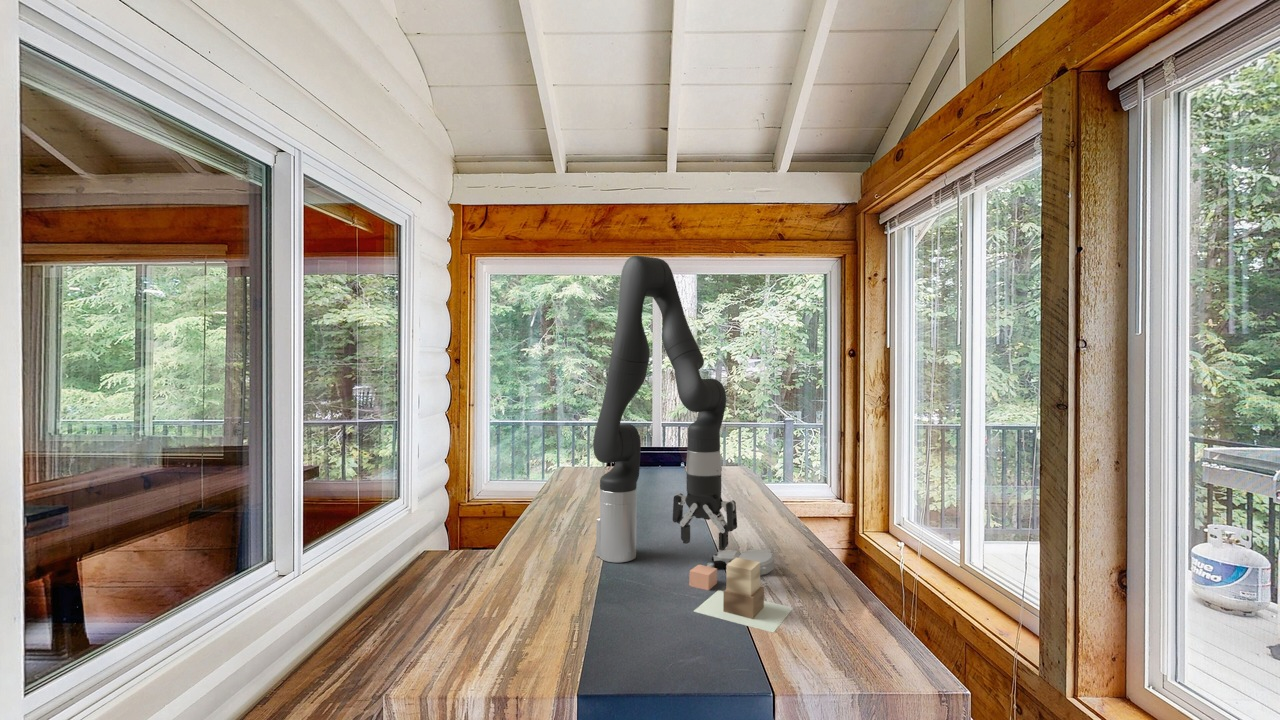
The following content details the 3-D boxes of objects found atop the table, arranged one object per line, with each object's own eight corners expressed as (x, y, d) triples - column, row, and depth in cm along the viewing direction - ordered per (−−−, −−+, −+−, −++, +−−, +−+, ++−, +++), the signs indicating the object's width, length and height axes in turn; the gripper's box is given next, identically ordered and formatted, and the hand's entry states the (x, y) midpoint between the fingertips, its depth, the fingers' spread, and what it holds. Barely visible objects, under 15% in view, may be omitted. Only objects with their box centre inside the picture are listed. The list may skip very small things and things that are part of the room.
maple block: (726, 590, 112) (726, 565, 112) (736, 582, 116) (736, 557, 116) (750, 596, 109) (751, 570, 109) (759, 587, 114) (760, 562, 114)
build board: (693, 617, 112) (693, 611, 112) (718, 595, 122) (718, 589, 122) (773, 639, 104) (773, 632, 104) (793, 613, 114) (793, 607, 114)
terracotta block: (689, 591, 124) (689, 570, 124) (698, 584, 128) (698, 564, 128) (708, 596, 122) (708, 575, 122) (717, 589, 126) (717, 568, 126)
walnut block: (723, 611, 112) (723, 591, 112) (735, 600, 117) (735, 580, 117) (752, 619, 109) (753, 598, 109) (763, 607, 114) (763, 587, 114)
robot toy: (704, 579, 134) (769, 585, 128) (703, 559, 134) (768, 564, 128) (719, 561, 145) (779, 566, 139) (718, 543, 145) (778, 547, 139)
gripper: (666, 470, 125) (667, 545, 125) (727, 477, 118) (728, 556, 118) (682, 465, 132) (683, 536, 132) (741, 471, 124) (741, 546, 124)
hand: (704, 546), depth 125 cm, fingers open, 8 cm apart
